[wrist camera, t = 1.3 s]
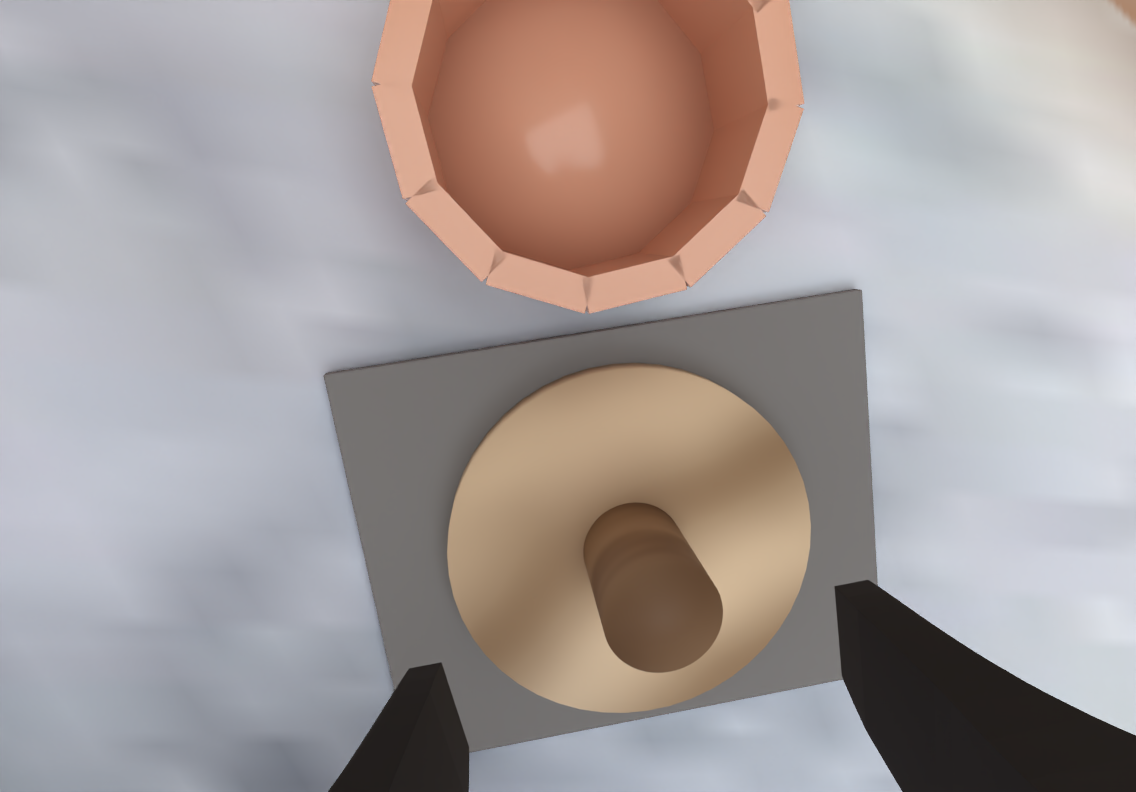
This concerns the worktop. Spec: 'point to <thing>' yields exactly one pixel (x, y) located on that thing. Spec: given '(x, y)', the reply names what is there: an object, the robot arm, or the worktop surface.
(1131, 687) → the worktop surface
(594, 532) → the lid
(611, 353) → the mat
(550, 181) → the bowl
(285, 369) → the worktop surface
